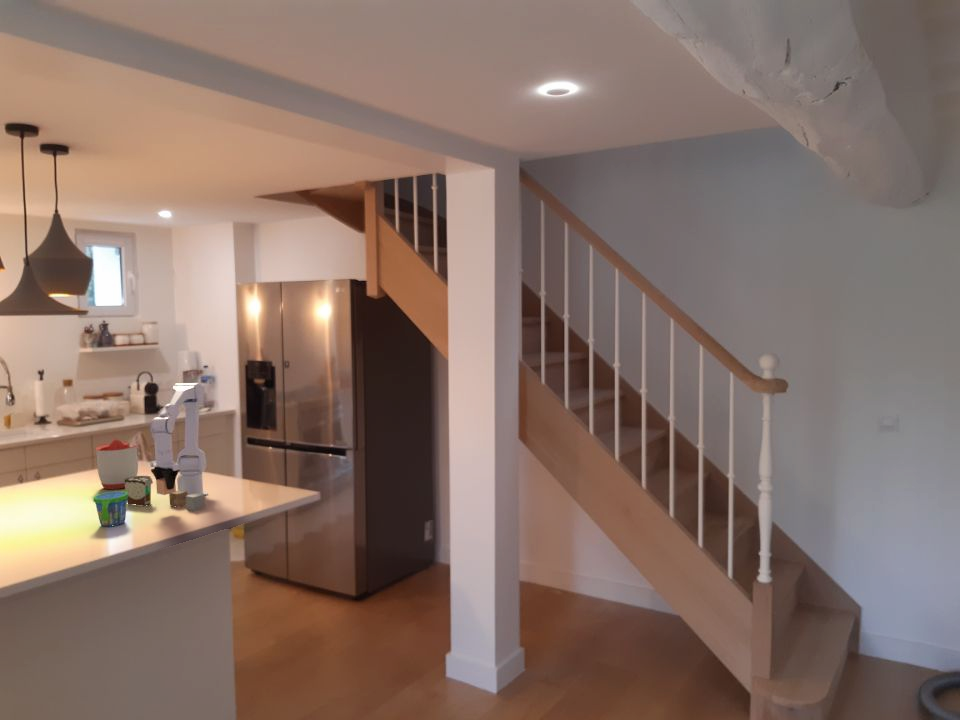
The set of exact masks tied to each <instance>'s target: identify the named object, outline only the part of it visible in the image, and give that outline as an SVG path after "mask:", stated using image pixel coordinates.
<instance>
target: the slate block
mask: <svg viewBox="0 0 960 720" xmlns="http://www.w3.org/2000/svg"><path fill="white" fill-rule="evenodd" d="M205 500H206V499H205V495H204V494H198V493H195V494H191V495H188V496H186V505H185V506H186V510H187V509H189V510H188V511H192V510H193V512H195V511H200V510H203V509H206V503H205Z"/></svg>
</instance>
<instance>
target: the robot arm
mask: <svg viewBox="0 0 960 720" xmlns="http://www.w3.org/2000/svg"><path fill="white" fill-rule="evenodd" d="M203 403H204V387H203V385H202V384H201V383H200V382H189V383H188V382H187V383H186V382H185V383H176V382H175V384H174V385H173V386H172V397H171V400H170V402H169V403H167V404H165V405H164V406H163V408H162V409H161V411H160V412H159V414H158V416H157V417H154V418H153V419H151V422H150V427H149V428H150V432H151V435H152V436H151V438H152V439H153V440H154V454H155V455H154V456H155V460H151V461H150V468H151V469H150V471H151V473H152V474H153V477H154V479H155V481H156V480H157V479H161V478H165V481H166V487H167V490H170V489H173V488H174V484H175V485H176V482H177V491H178V490H183V491H187V493H188V495H191V494H195V493H198V494H204V496H207V495H209V493H208V492H204V486H203V485H204V483H203V473H204V471H206V469H207V459H206V458H207V457H206V453H205V451H204V450H202V449H200V447H199V432H200V431H199V429H200V428H199V427H200V425H199V423H200V406H201V405H203ZM181 406H184V408H185V416H184V417H185V418H184V419H185V422H184V448H182V450H180V452H178V454H177V459H176V462H175V461H174V455H173V454H174V453H173V438H172V433H173V432H174V430H175V424H176V420H177V418H178V416H179V415H180V408H181ZM178 473H180V474H179V475H178ZM177 476H178V477H177ZM176 478H177V479H176Z"/></svg>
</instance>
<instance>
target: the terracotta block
mask: <svg viewBox="0 0 960 720" xmlns="http://www.w3.org/2000/svg"><path fill="white" fill-rule="evenodd" d="M155 483H156V485H155V486H156V494H157V495H163V496H166V495H169V494H170V493H174V492H176V491H177V490H176V489H177V487H176V483H175V484H174V488H173V489H170V490H167V487H166V481H165V478H161V479H157V480H156V479H155Z"/></svg>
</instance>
